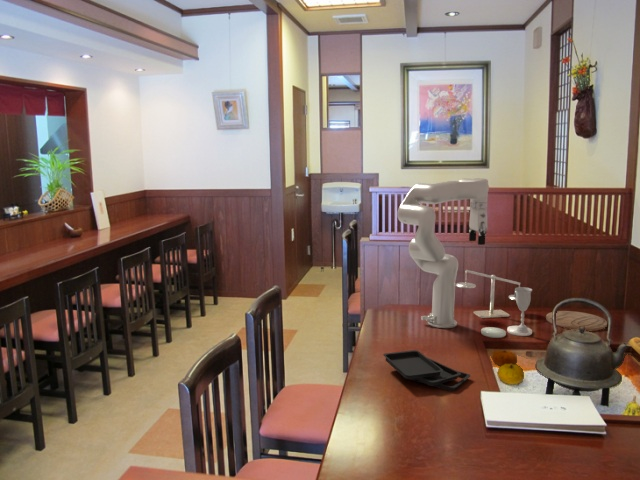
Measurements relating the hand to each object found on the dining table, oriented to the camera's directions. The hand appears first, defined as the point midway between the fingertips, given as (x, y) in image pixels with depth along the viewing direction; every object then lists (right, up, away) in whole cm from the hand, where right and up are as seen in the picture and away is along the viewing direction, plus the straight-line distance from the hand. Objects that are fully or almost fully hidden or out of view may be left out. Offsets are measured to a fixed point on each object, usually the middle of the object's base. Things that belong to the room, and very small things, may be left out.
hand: (476, 242), depth 259 cm
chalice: (+13, -37, -23) cm, 46 cm away
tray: (-38, -46, -67) cm, 90 cm away
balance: (+8, -34, +4) cm, 35 cm away
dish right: (+12, -38, -20) cm, 45 cm away
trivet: (+43, -36, -7) cm, 56 cm away
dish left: (+1, -38, -22) cm, 44 cm away
